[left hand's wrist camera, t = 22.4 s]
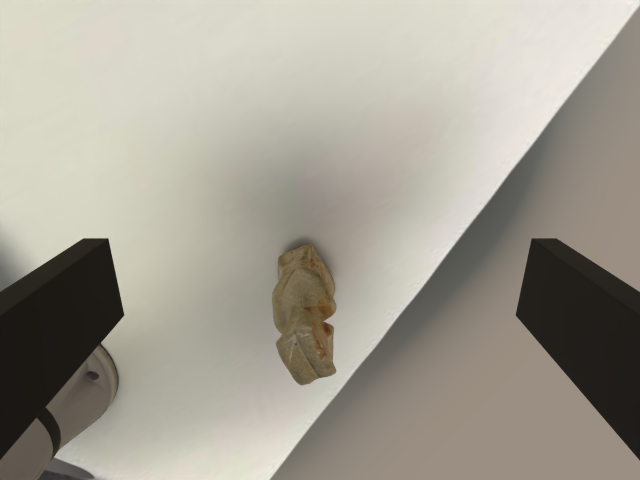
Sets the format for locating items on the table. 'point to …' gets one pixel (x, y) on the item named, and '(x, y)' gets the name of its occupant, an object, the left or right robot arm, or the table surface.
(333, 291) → the sculpture
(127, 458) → the table surface
